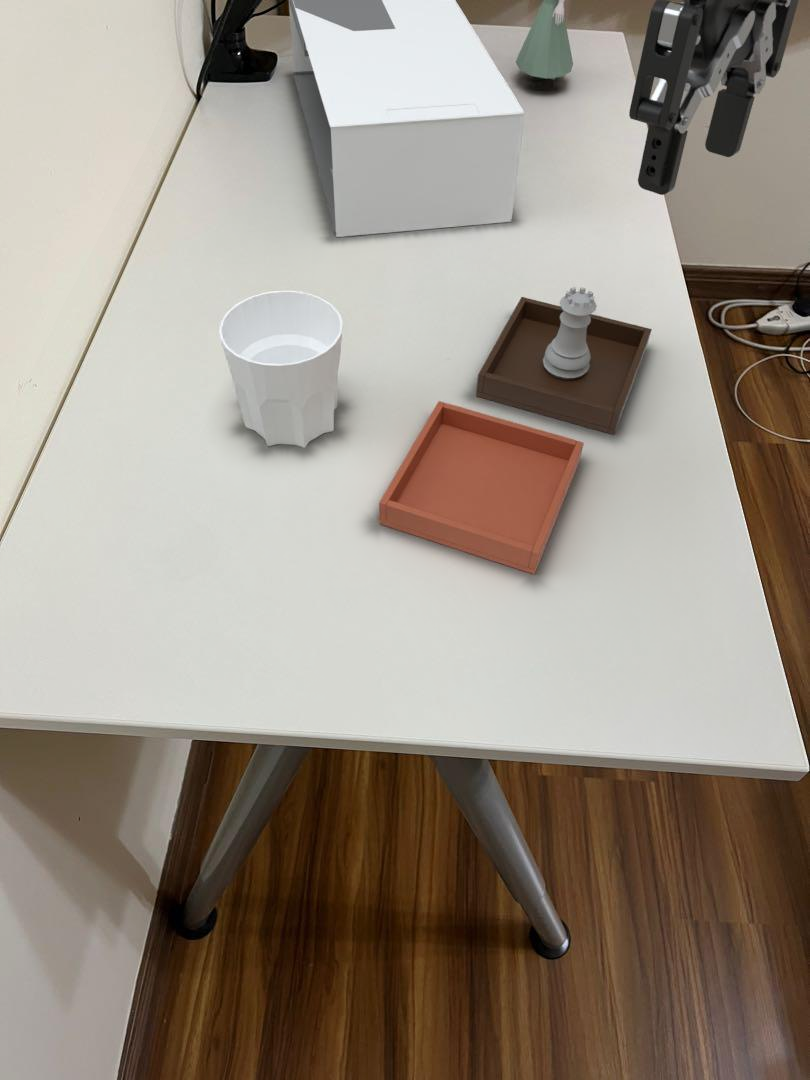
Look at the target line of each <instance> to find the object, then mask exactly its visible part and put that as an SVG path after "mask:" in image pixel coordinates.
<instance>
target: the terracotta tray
mask: <svg viewBox="0 0 810 1080" xmlns="http://www.w3.org/2000/svg"><path fill="white" fill-rule="evenodd" d="M584 445H585V443H584V442H583V441H580V440H577V439H573V438H569V437H567V436H564V435H563V436H562V435H560V434H556V433H552V432H549V431H545V430H542V429H538V428H534V427H531V426H528V425H524V424H521V423H517V422H514V421H510V420H507V419H504V418H500V417H497V416H493V415H489V414H486V413H483V412H478V411H475V410H472V409H468V408H465V407H461V406H458V405H455V404H452V403H447V402H444V401H441V400H438V401H437V403H436V405H435V406H434V408H433V410H432V412H431V413H430V415H429V417H428V419H427V420H426V422H425V423H424V425H423V427H422V429H421V430H420V431H419V434H418V435H417V436H416V439H415V441H414V443H413V444H412V446H411V448H410V450H409V451H408V453H407V454H406V456H405V458H403V459H404V460H403V461H402V463H401V465H400V466H399V468H398V469H397V471H396V473H395V475H394V476H393V478H392V480H391V481H390V483H389V485H388V486H387V488H386V490H385V491H384V493H383V495H382V497H381V499H380V500H379V502H378V517H379V518H378V519H379V521H378V523H379V525H382V526H386V527H389V528H390V529H391V528H392V529H395V530H397V531H400V532H404V533H406V534H409V535H413V536H416V537H418V538H421V539H425V540H428V541H431V542H435V543H437V544H439V545H443V546H447V547H448V548H449V547H450V548H452V549H455V550H458V551H462V552H464V553H468V554H470V555H473V556H476V557H480V558H483V559H486V560H489V561H491V562H494V563H498V564H501V565H505V566H507V567H510V568H513V569H516V570H520V571H523V572H525V573H529V574H532V575H536V573H537V570H538V567H539V564H540V562H541V560H542V558H543V554H544V552H545V549H546V547H547V545H548V542H549V540H550V537H551V534H552V532H553V529H554V527H555V524H556V521H557V520H558V517H559V514H560V512H561V509H562V507H563V504H564V501H565V498H566V497H567V494H568V492H569V489H570V487H571V484H572V481H573V479H574V477H575V474H576V472H577V469H578V468H579V467H578V466H579V464H580V460H581V456H582V453H583V448H584Z"/></svg>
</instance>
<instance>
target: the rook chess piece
mask: <svg viewBox="0 0 810 1080" xmlns="http://www.w3.org/2000/svg"><path fill="white" fill-rule="evenodd" d="M559 306H561V308H562V309H563V313H561V315H560V320H561V325H560V328H559V331H558V334H557V336H556V338H555V339H553V341H552V343H550V344H549V345H548V347H547V349H546V351H545V356H544V358H543V364H544V367H545V368H546V370H547V371H548V372H549V373H550V374H551V375H553V376H555V377H556V378H560V379H564V380H573V379H576V378H579V377H581V376H582V375H583V374H585V373H586V372H587V371H588V369H589V366H590V365H589V361H590V359H591V356H590V352H589V349H588V345H587V343H586V332H587V325H589V324H590V322H591V319H590V316H589V315H590V314H593V313H594V312H595V311H596V309H597V307H598V306H597V303H596V301H595V296H594V292H593V291H592V290H588V291H587V293H586V287H583V286H580V287H579V291H577V288H576V287H570V288H569V290H566V292H565V295H564V296H563V297H562V298H561V299H560V301H559Z"/></svg>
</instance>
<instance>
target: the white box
mask: <svg viewBox="0 0 810 1080" xmlns="http://www.w3.org/2000/svg"><path fill="white" fill-rule="evenodd" d="M287 1H288V12H289V24H290V35H291V37H290V38H291V49H292V62H293V78H294V82H295V85H296V90H297V93H298V98H299V102H300V105H301V109H302V113H303V117H304V120H305V125H306V128H307V132H308V137H309V140H310V143H311V147H312V151H313V155H314V159H315V163H316V167H317V171H318V174H319V179H320V184H321V187H322V190H323V194H324V197H325V201H326V207H327V210H328V214H329V217H330V222H331V225H332V227H333V228H332V229H333V234H334V237H336V238H343V237H354V236H365V235H366V236H367V235H375V234H377V235H378V234H386V233H387V234H388V233H398V232H408V231H409V232H410V231H411V232H413V231H420V230H421V231H422V230H432V229H433V230H434V229H444V228H445V229H446V228H455V227H466V226H478V225H479V226H480V225H488V224H489V225H490V224H500V223H502V224H503V223H511V222H512V220H513V213H514V205H515V197H516V187H517V181H518V180H517V179H518V172H519V165H520V164H519V163H520V155H521V147H522V141H523V133H524V132H523V131H524V123H525V115H526V113H525V110H523V109H524V108H522V106H521V104H520V102H519V101H518V99H517V97H516V96H515V94H514V93H513V91H512V89H511V88H510V85H509V84H508V82H507V80H506V79H505V78H504V76H503V75H502V73H501V72H500V70H499V69H498V67H497V65H496V64H495V62H494V61H493V59H492V57H491V56H490V54H489V52H488V50H487V49H486V47H485V45H484V44H483V42H482V41H481V39H480V37H479V36H478V34H477V32H476V31H475V29H474V28H473V26H472V24H471V23H470V21H469V20H468V18H467V16H466V15H465V13H464V11H463V9H462V8H461V7H460V5H459V4H458V2H457V1H456V0H287Z"/></svg>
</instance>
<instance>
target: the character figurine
mask: <svg viewBox="0 0 810 1080" xmlns="http://www.w3.org/2000/svg"><path fill="white" fill-rule="evenodd" d="M565 2H566V0H543V1H542V2H541V4H540V7H539V9H538V12H537V14H536V16H535V18H534V20H533V23H532V25H531V27H530V29H529V31H528V33H527V35H526V38H525V40H524V42H523V44H522V46H521V48H520V51H519V53H518V55H517V57H516V60H515V64H516V66H517V68H518V69H519V70H520V71H522V72H523V73H525V74H526V75H528V76H530V77H531V78H530V79H531V80H533V81H541V82H537V83H534V84H533V85H532V89H534V90H539V91H540V90H541V91H546V90H548V91H549V90H550V91H551V90H555V89H556V78H562V77H564V76H565V75H567V74H570V73H571V72H572V69H573V66H574V60H573V56H572V50H571V45H570V40H569V34H568V29H567V22H566V17H565V6H564V5H565Z"/></svg>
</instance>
